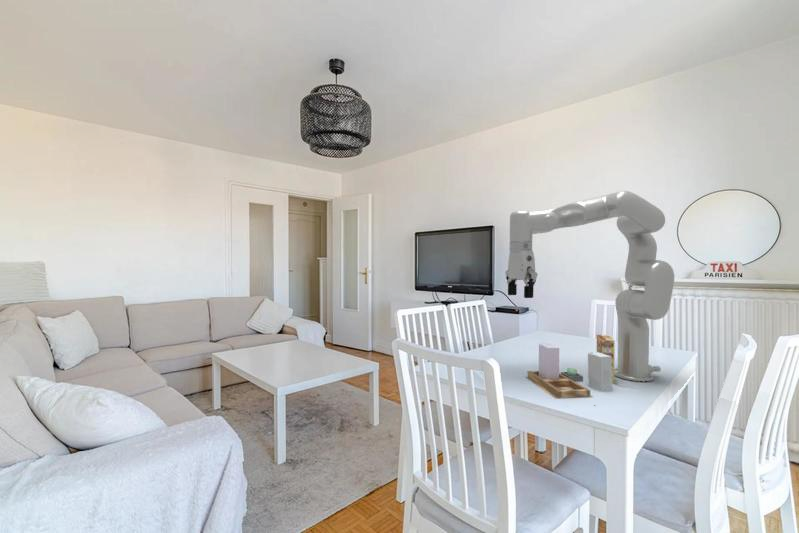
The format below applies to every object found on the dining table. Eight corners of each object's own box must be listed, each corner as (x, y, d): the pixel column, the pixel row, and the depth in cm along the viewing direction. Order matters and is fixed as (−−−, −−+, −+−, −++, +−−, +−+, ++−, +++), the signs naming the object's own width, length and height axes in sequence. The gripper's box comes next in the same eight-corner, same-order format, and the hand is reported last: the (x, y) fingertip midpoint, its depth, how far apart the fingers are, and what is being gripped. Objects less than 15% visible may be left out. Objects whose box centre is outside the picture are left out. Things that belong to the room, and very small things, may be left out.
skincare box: (613, 394, 115) (613, 356, 115) (601, 395, 114) (601, 357, 114) (598, 387, 121) (599, 351, 121) (586, 388, 120) (587, 352, 120)
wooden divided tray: (557, 379, 130) (557, 370, 130) (593, 400, 110) (593, 390, 110) (524, 380, 128) (525, 371, 128) (555, 402, 108) (555, 391, 108)
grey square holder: (574, 379, 129) (574, 371, 129) (582, 384, 124) (583, 376, 124) (560, 380, 128) (560, 371, 128) (569, 385, 123) (569, 376, 123)
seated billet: (549, 377, 127) (549, 343, 127) (558, 383, 121) (559, 347, 121) (538, 378, 127) (538, 343, 126) (547, 384, 121) (547, 348, 121)
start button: (573, 375, 128) (573, 368, 128) (578, 378, 125) (578, 370, 125) (565, 375, 127) (565, 368, 127) (570, 378, 124) (570, 371, 124)
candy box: (614, 385, 124) (615, 340, 123) (600, 383, 125) (601, 339, 125) (608, 377, 132) (609, 335, 132) (595, 376, 133) (596, 334, 133)
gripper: (546, 246, 119) (545, 298, 120) (515, 248, 136) (515, 293, 136) (526, 246, 117) (525, 299, 118) (498, 247, 134) (497, 294, 134)
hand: (520, 296), depth 127 cm, fingers open, 9 cm apart
